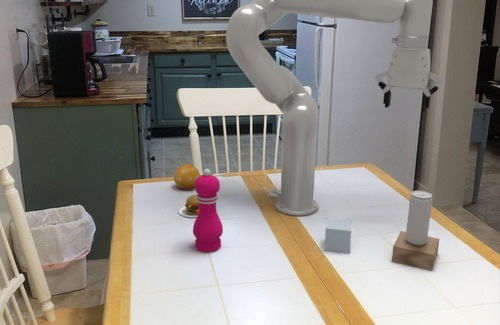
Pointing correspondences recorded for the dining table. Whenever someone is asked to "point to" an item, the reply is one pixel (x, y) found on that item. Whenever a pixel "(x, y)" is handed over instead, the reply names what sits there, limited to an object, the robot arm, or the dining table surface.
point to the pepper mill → (207, 214)
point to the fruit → (186, 176)
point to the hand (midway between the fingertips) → (405, 108)
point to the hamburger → (191, 206)
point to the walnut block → (415, 252)
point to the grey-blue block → (338, 235)
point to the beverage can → (418, 217)
